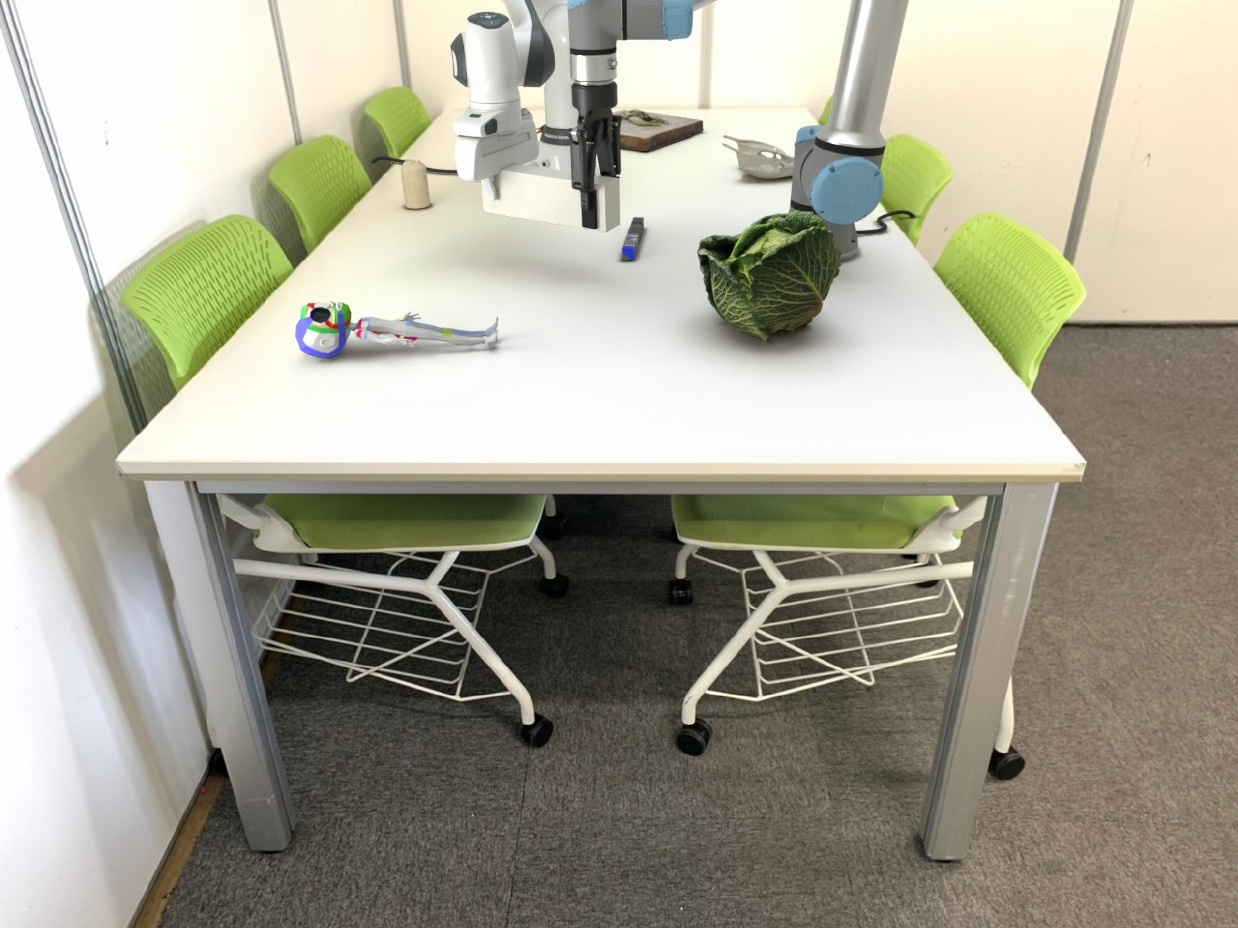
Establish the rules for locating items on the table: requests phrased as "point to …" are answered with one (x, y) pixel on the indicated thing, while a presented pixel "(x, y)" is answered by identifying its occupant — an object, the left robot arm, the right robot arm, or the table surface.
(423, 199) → the candle
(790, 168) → the anatomical model
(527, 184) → the bar
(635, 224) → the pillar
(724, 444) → the table surface
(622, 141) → the plaque
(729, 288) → the vegetable
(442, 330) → the toy
